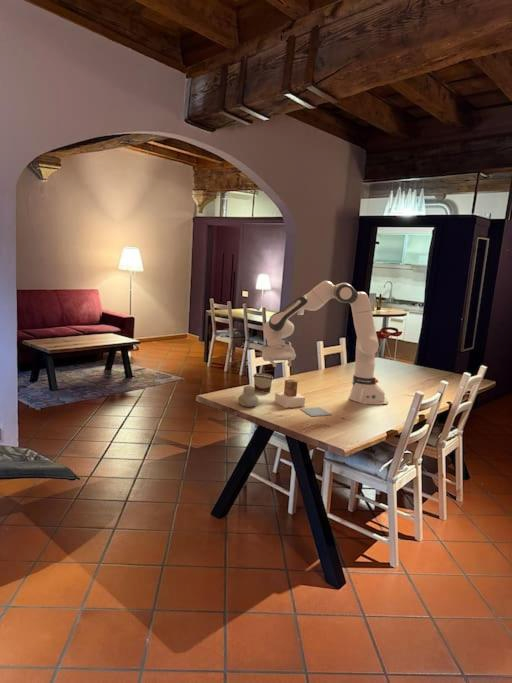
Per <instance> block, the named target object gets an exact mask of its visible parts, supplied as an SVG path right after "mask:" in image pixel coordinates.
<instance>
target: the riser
mask: <svg viewBox="0 0 512 683" xmlns="http://www.w3.org/2000/svg"><path fill="white" fill-rule="evenodd" d="M274 402H275V403H277V404H279V405H280V406H281V405H282V406H281V407H283V408H287V409H289V408H300V407H299V406H302V407H305V404H306V403H305V402H306V397H305V396H304V395H301V394H300V393H298V392H297V394H296V396H289V397H288V396H287V395H285V394H284V391H281V392H279V391H278V392H275V395H274ZM288 407H289V408H288Z"/></svg>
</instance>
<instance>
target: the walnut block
mask: <svg viewBox="0 0 512 683" xmlns="http://www.w3.org/2000/svg"><path fill="white" fill-rule="evenodd" d="M283 389H284V390H283V392H284V394H285V395H287V396H288V397H289V396H296V394H297V393H298V381H297V380H295V379H285V380H284V388H283Z"/></svg>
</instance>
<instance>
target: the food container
mask: <svg viewBox="0 0 512 683" xmlns="http://www.w3.org/2000/svg"><path fill="white" fill-rule="evenodd" d="M252 378H253V383H254V386H253V387H254V388H255V391H254V392H261V393H266V394H270V392H271V390H272V388H271V387H272V382H273V381H274V377H273V375H272V374H269V373H264V372H260V373H254V374H253V376H252Z"/></svg>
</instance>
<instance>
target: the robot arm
mask: <svg viewBox="0 0 512 683" xmlns="http://www.w3.org/2000/svg"><path fill="white" fill-rule="evenodd" d="M331 299H335V300H337V301H338V302H340V303H345V304H349V305H350V307H351V313H352V318H353V319H352V320H353V326H354V330H355V334H356V340H355V341H356V343H355V344H356V345H355V360H354V362H355V365H354V373H353V376H352V382H351V383H352V384H351V385H352V387H351V390H350V394H349V397H348V399H350V401H354V402H357V403H360V404H362V405H382V404H387V405H388V404H389V401H388V399H387V398H386V397H385V396H386V395H385V391H384V390H383V389H382V388H381V386H379V385H378V383H379V379H377V378H376V377H375V376H374V375H375V374H374V372H375V367H376V366H375V365H376V364H375V359H376V358H375V357H376V355H375V354H376V353H377V352H378V350H379V347H380V346H379V345H380V344H379V339H378V335H377V330H376V326H375V322H374V317H373V309H372V304H371V302H370V301H371V300H370V298H369V296H368V294H367V293H366V292H365V291H357V290H356V289H355V288H354V287H353V286H352V284H350V283H348V282H340V283H336V284H334V283H332V282H331V281H329V280H323V281H322V282H320V283H319V284H317V285H316V286H314V287H313V288H312V289H311V290H310V291H309V292H307V293H306V294H304V295H303V296H299V297H297V298H296V299H295V300H293V301H292V302H290V303H289V304H288V305H286V306H285V307H284V308H282V309H281V310H279V311H278V312H275V313H273V314H272V315H271V316H270V317H269V320H268V321H266V322H264V325H263V334H264V337H265V339H266V343H267V345H262V346H261V347H260V351H261V357H262V360H263V361H264V362H269V363H270V364H271V365H272V367H273V368H276V367H277V366H278V365H277V363H276V362H278V361H280V362H281V361H287V364H286V365H287V367H291V366H292V361H294V360H295V359H296V357H297V355H296V352H295V349H294V347H293V346H292V343H291V342H290V341H287V340H283V339H286V338H288V337H291V336H292V335H293V334H294V332H295V325H294V323H293V322H292V321H290V320H289V319H290V318H291V317H292V316H294V315H295V314H297V313H298V312H300V311H303V310H306V311H310V312H311V311H313V312H315V311H318V310H319V309H321V308H322V307H323V306H324V305H325V304H326V303H328V302H329V301H330V300H331Z"/></svg>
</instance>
